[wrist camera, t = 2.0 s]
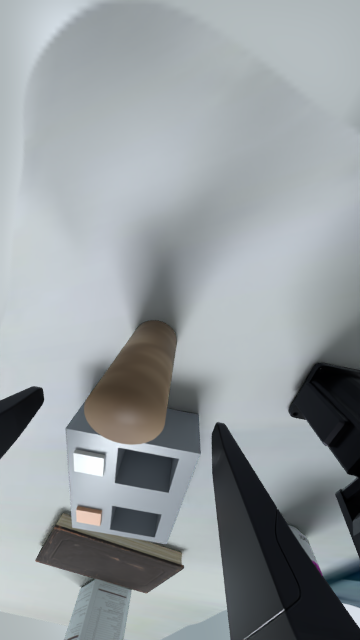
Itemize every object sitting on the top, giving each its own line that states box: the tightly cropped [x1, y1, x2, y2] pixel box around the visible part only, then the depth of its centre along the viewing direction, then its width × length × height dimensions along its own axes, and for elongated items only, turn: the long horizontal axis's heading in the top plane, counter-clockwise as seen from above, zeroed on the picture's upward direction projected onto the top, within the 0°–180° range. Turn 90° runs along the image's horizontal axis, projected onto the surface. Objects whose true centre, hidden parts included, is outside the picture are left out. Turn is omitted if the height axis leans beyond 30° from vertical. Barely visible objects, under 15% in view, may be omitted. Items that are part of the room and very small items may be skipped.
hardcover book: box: [35, 513, 184, 593], centre depth 32 cm, size 16×23×2 cm
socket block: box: [66, 402, 201, 544], centre depth 20 cm, size 12×18×4 cm, turn 169°
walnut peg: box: [84, 320, 177, 445], centre depth 12 cm, size 4×4×8 cm
